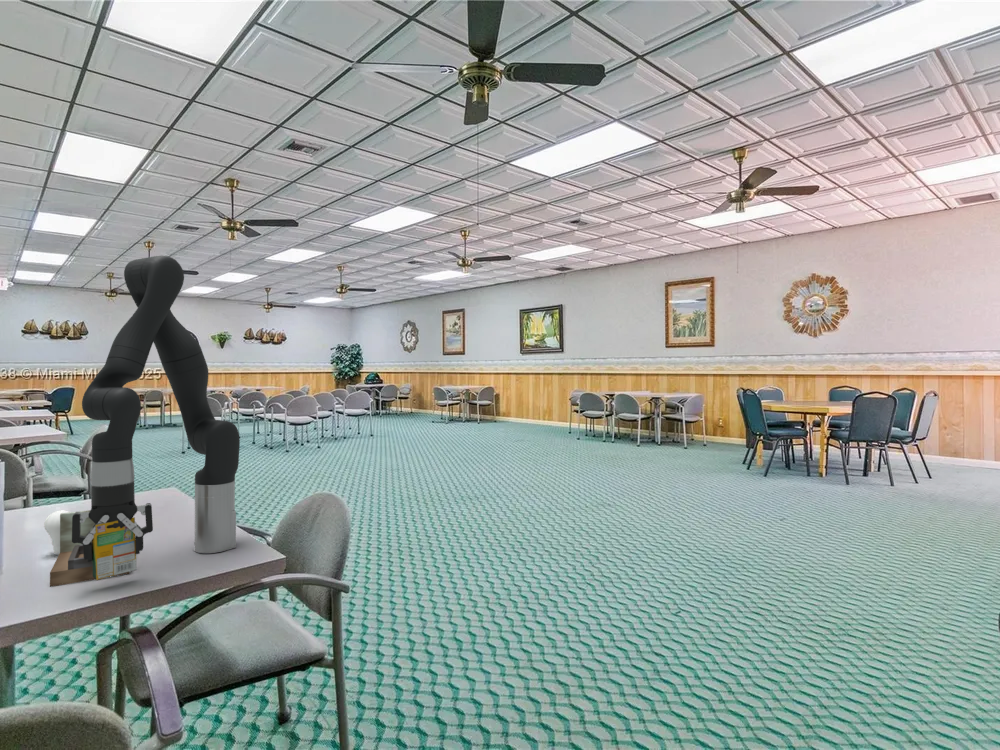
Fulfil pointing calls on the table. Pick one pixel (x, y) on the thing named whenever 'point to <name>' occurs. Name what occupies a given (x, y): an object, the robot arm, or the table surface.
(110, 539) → the crayon box
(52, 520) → the lightbulb
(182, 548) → the table surface
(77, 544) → the display stand
